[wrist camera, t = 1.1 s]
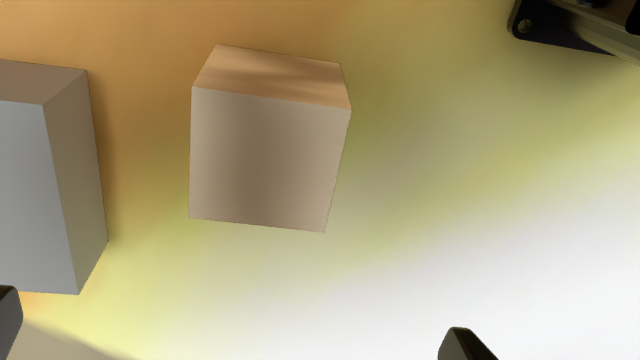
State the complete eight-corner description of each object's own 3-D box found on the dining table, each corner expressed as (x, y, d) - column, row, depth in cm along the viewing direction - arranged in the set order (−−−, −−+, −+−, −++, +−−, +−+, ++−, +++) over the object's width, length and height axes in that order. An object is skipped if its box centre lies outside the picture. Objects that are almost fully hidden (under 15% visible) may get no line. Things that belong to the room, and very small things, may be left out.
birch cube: (339, 62, 18) (352, 109, 14) (318, 166, 21) (324, 232, 17) (217, 43, 18) (191, 86, 13) (211, 152, 20) (188, 217, 16)
